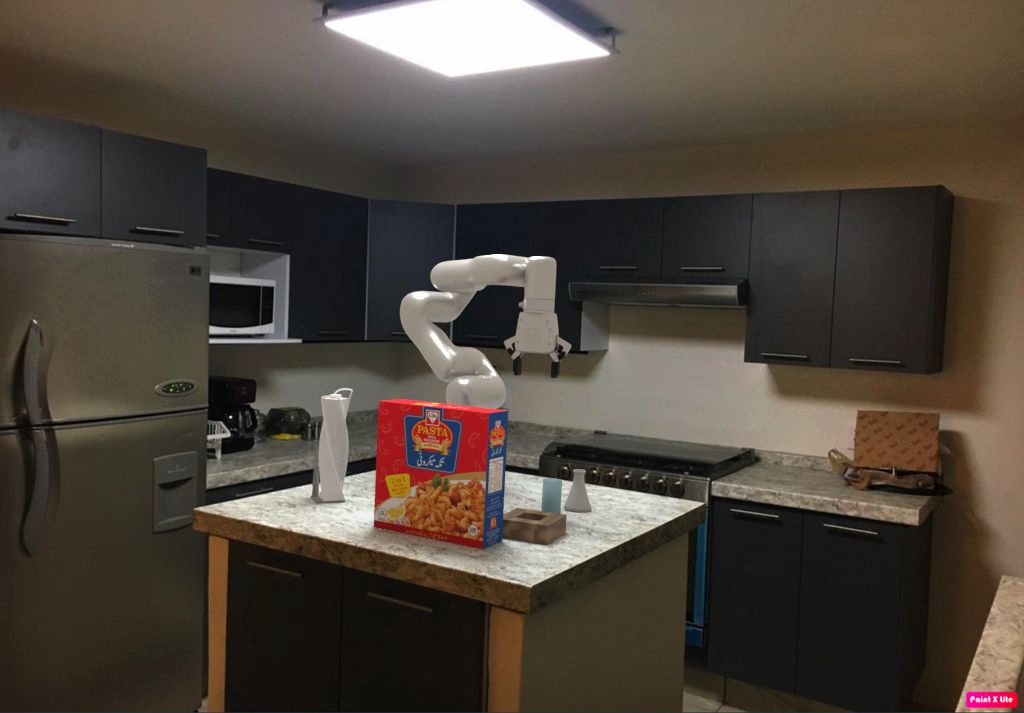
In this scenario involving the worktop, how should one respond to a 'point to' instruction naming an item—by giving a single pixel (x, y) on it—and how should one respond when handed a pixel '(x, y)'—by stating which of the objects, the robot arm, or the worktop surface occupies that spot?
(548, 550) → the worktop surface
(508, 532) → the walnut pocket block
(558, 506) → the teal peg
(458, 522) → the pasta box
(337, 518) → the worktop surface
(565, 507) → the flask
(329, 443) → the skyscraper
